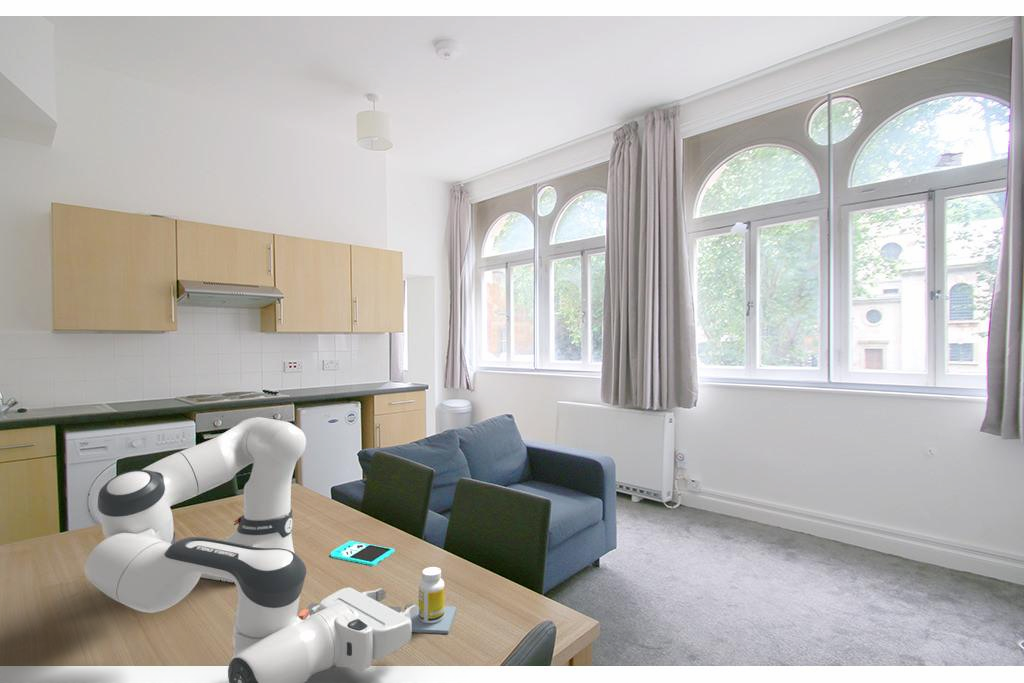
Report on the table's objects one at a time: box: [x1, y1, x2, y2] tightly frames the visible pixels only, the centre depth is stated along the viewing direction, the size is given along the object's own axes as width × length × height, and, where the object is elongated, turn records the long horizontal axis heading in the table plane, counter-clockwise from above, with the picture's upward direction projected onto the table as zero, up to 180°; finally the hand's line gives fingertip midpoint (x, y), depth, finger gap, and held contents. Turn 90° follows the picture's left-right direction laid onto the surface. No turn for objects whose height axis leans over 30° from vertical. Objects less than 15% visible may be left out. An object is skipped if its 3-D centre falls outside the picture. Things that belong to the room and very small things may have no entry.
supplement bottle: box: [418, 566, 445, 623], centre depth 103 cm, size 5×5×10 cm
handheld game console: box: [330, 540, 396, 567], centre depth 135 cm, size 10×16×1 cm, turn 68°
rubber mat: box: [410, 604, 458, 634], centre depth 103 cm, size 9×9×1 cm
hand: (398, 600), depth 95 cm, fingers open, 8 cm apart
